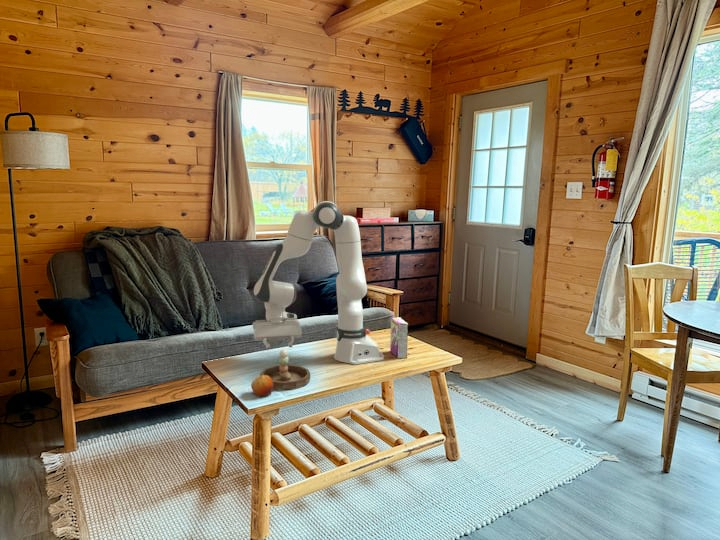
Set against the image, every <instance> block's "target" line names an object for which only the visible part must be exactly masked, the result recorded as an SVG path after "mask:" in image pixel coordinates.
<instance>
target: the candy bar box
mask: <svg viewBox="0 0 720 540" xmlns="http://www.w3.org/2000/svg"><path fill="white" fill-rule="evenodd" d="M408 330H409V323H408V322H407V321H405V320H404V319H403V318H402V317H390V350H389V351H390V353H391V354H393V356H395V357H396V359H398V360H399V359H408V340H409V339H408V336H409V335H408V334H409V331H408Z"/></svg>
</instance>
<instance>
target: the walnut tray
mask: <svg viewBox="0 0 720 540" xmlns="http://www.w3.org/2000/svg"><path fill="white" fill-rule="evenodd" d="M287 366H288V371H289V373H287V372H285V373H281V374H280V376H279V371H280V370H279V367H280V365H279V364H278V365H273V366H271V367H266V368H265V369H263V370H262V371H261V372H260V375H259V376H262V375H268V376H269V377H270V378H271V379H272V380H273V383H274V386H273V390H274V389H276V390H277V391H288V390H289V391H293V390H296V389H300V388H302V387H305V386H307V385H308V384H309V383H310V381H311V372H310V370H309V368H306V367H304V366H301V365H296V364H295V365H294V364H288V365H287Z"/></svg>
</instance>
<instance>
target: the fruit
mask: <svg viewBox="0 0 720 540" xmlns="http://www.w3.org/2000/svg"><path fill="white" fill-rule="evenodd" d="M250 385H251V389H252V392H253V393H254V394H255V395H256V396H257V397H260V398H263V397H267V396H271V395H272V392H273V390H274V389H273V386H274V383H273V380H272V379H271V378H270V377H269V376H268V375H262V376H260V375H259V376H257V377H256V378H255V379H254V380H253V381H252V383H251V384H250Z"/></svg>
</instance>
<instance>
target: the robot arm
mask: <svg viewBox="0 0 720 540" xmlns="http://www.w3.org/2000/svg"><path fill="white" fill-rule="evenodd" d="M320 227H321V228H324V229H330V230H333V232H334V233H333V234H334V241H335V254H336V262H337V267H338V272H339V273H338V274H337V275H336V279H335V285H336V301H337V309H338V310H337V312H338V313H337V327H336V349H335V352H334V355H333V359H335V360H336V361H337V362H341V363H345V364H350V365H361V364H366V363H367V364H368V363H373V362H378V361H379V362H380V361H384V360H385V355H384V354H383V352H381V351H380V349H379V345H378V343H377V341H375V340H374V339H373V338H371V337H370V336H369V335H370V333H371V330H370V329H368V328H366V327H364V325H363V324H364V322H363V321H364V320H363V319H364V309H363V303H362V299H363V298H364V297H365V296H366V295H367V292H368V285H367V280H366V279H367V278H366V273H365V267H364V263H363V256H362V243H361V233H360V227H359V224H358V220H357V218H356V217H354V216H352V215H344V214H342V212H341V211H340V209H339V207H338V206H337V204H336V203H334V202H333V201H330V200H329V201H328V200H324V201H321V202H318V204H317V205H316V206H315V207H314V208H313V209H312V210H311V211H307V210H300V211H297V212H296V213H295V215H294V216H293V218H292V220H291V222H290V225H289V227H288V230H287V234H286V237H284V239H283V240H282V242H281V243H278V244H276V245H275V247H274V248H273V250H272V252H271V254H270V256H269V258H268V260H267V262H266V264H265V266H264V268H263V270H262V272H261V275H260V277H259V278H258V279H257V281H256V282H255V285H254V287H253V296H254V297H255V299H256V300H257V301H258V302H259V303H264V308H265V319H261V320H260V319H258V320H257V319H256V320H255V321H253V322H252V329H253V331H254V334H253V335H254V336H253V337H254V338H253V339H254V341H256V342H262V343H263V344H264V345H265V347H266V350H270V349H271V343H268V342H267V341H277V340H290V341H289V342H288V344H287V345H288V348H293V343H294V341H295V339H300V338H301V337H302V333H303V332H302V326H301V323H300V321H299V320H298V316H297V314H296V313H291V312H288V311H286V308H289V306H291V305H292V304H293V303H294V302H295V301H297V289H296V286H295V285H294V284H292V283H290V282H286V281H285V282H284V281H278V280H273V278H274V276H275V274H276V272H277V270H278V268H279V266H280V264H281V263H282V262H284V261H286V260H290V259H296V258H299V257H302V256H304V255H306V254H307V253H308V252H309V251H310V248H311V246H312V243H313V239H314V235H315V232H316V231H317V229H318V228H320Z"/></svg>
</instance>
